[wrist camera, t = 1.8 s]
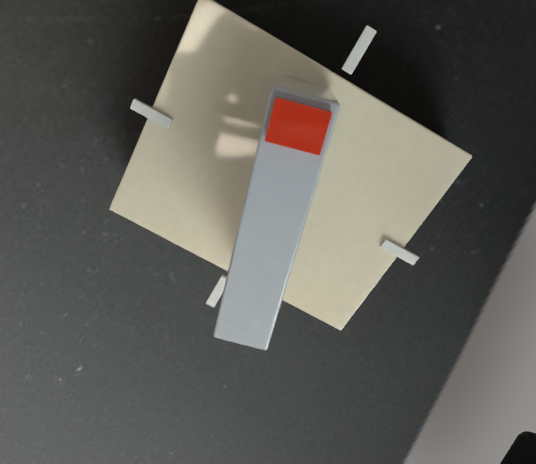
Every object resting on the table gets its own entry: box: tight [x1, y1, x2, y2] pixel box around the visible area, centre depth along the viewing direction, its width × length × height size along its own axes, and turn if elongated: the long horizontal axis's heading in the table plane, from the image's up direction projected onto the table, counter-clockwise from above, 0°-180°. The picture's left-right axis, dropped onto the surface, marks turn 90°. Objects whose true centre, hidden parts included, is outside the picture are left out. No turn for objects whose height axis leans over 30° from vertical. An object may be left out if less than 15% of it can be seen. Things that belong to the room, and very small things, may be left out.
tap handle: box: [213, 76, 340, 350], centre depth 13 cm, size 7×2×5 cm, turn 166°
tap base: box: [110, 0, 472, 330], centre depth 17 cm, size 11×11×3 cm
